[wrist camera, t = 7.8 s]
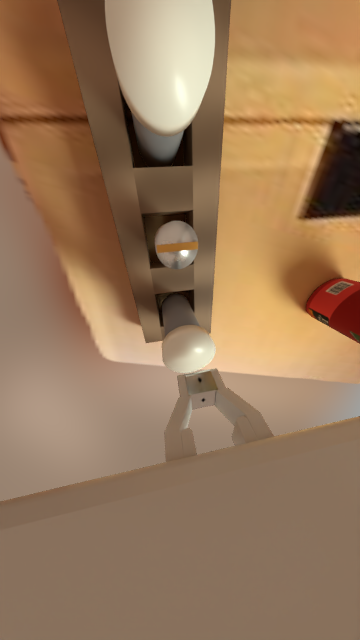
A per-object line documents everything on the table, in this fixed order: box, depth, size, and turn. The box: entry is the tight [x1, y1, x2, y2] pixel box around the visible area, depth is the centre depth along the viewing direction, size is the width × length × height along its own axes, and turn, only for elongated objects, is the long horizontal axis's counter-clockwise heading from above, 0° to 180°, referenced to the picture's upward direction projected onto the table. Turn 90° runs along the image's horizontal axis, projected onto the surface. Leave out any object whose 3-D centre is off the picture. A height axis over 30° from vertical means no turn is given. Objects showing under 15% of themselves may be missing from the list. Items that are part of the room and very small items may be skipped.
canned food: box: [306, 279, 360, 343], centre depth 23 cm, size 8×8×11 cm
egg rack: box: [57, 0, 231, 343], centre depth 17 cm, size 26×10×4 cm, turn 4°
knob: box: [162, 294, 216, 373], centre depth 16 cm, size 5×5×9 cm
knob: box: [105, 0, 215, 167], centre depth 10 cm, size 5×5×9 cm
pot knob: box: [155, 221, 198, 269], centre depth 13 cm, size 3×3×6 cm
